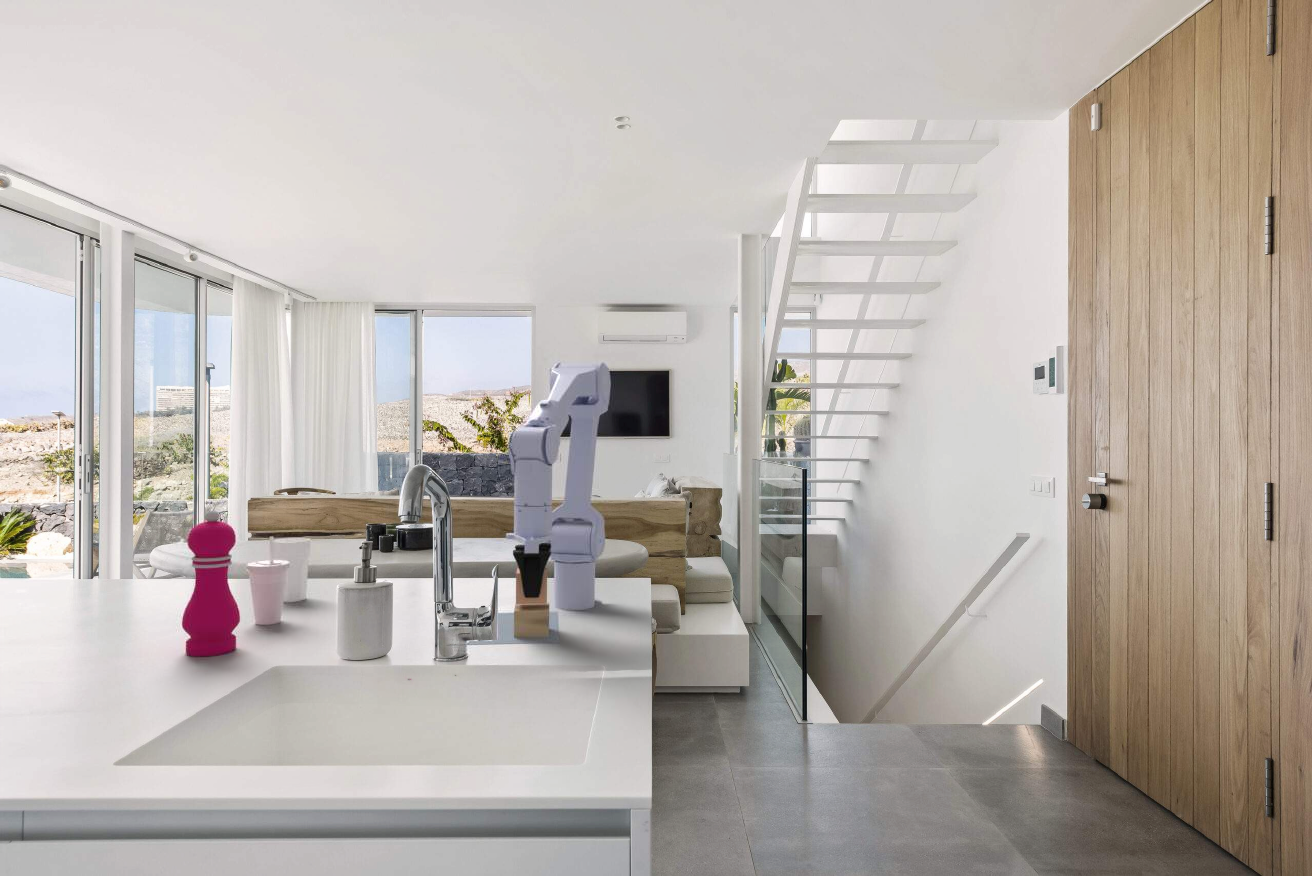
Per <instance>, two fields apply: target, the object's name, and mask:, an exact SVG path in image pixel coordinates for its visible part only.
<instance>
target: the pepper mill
mask: <svg viewBox="0 0 1312 876" xmlns="http://www.w3.org/2000/svg"><path fill="white" fill-rule="evenodd" d="M219 518H220V514H219V512H218V511H216V510H213V509H212V510H210V509H209V510H208V511H207V512H206V513H205V514H204V519H205V521H203V522H200V523H198V524H196V525H194V527H193V528H192V529H190V531H189V534H188V537H187V547H188V549H189V550H190V551H191V552H192V553H193V556H192V557H191V561H192V563H191V564H190V565H191V568H194V571H195V572H194V574H195V581H194V589H193V591H192V593H191V597H190V599H189V601H188V602H187V604H186V606H185V608H184V612H183V615H182V619H181V626H182V629H183V631H184V632H186V634H188V635H189V638H188V639H186V641H185V654H186V655H188V656H191V657H202V658H203V657H212V656H213V657H214V656H220V655H224V654H228V653H230V652H233V651H234V650H235V649H236V648H237V636H236V634H234V633H233V631H234V630H235V629H236V628H237V627H238V625H239V624H240V621H241V614H240V609H239V605H238V603H237V600H235V597H234V595H233V593H232V591H231V589H230V585H229V580H228V579H229V578H228V576H229V574H228V571H229V566H231V565H232V563H233V562H232V560H231V559H232V557H233V556H232V554H231V553H230V552H231V551H232V549H233V548H234V546H235V545H236V542H237V541H236V540H237V538H236V537H237V535H236V533H235V532H236V531H235V530H234V528H233V527H232V526H231V525H230V524H229V523H226V522H223V521H219Z"/></svg>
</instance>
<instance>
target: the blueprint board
mask: <svg viewBox="0 0 1312 876" xmlns="http://www.w3.org/2000/svg"><path fill="white" fill-rule="evenodd" d="M497 613H498V638H497V639H496V640H492V641H469V642H468V643H467V645H466V646H475V645H476V646H480V645H481V646H483V645H518V644H519V645H522V644H523V645H527V644H528V645H529V644H531V645H532V644H559V642H560V641H559V620H558V619H559V618H558V616H559V615H558V611H549V637H519V638H514V612H497Z"/></svg>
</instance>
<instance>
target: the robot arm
mask: <svg viewBox="0 0 1312 876" xmlns="http://www.w3.org/2000/svg"><path fill="white" fill-rule="evenodd" d="M549 376H550V377H549V384H550V385H549V386H550V390H551V391H550V393H549V395H548V398H547V399H541V400H540V401H539V402H538V403H537V404H536V406H535V408H534V409H533V411H532V413H531V414H530V416H529V417H528V419H527V421H526V422H525V423H524V425H523V426H518V427H516V428H515V429H513V430H512V431H511V433H510V435H509V438H508V444H507V452H508V457H509V461H510V472H511V474H512V475H513V476H514V479H513V480H514V487H513V489H514V494H513V495H514V496H513V497H514V498H513V500H514V501H513V523H514V524H513V532H509V533H508V532H507V533H505V538H506V540H514V541H516V542H518V543H521V544H516V545H515V546H514V549H513V550H512V556H513V558H514V560H515V563H516V564H517V568H519V570H520V574H521V580H522V587H523V592H524V596H525V598H538V597H539V595H540V591H541V585H542V579H543V574H544V570H545V568H546V566H547V564H548V561H549V559H550V560H551V561H554V565H553V570H554V571H553V572H554V573H553V575H554V576H553V577H554V578H553V607H554V608H556V609H558V610H563V611H582V610H589V609H592V608H594V607H595V604H596V603H595V602H596V600H595V599H596V598H595V597H596V596H595V595H596V581H595V580H596V560H598V559H599V558H600V557H601V556H602V555H603V553H604V551H605V546H606V545H605V544H606V533H605V523H606V521H605V518H604V516H603V515H602V513H600V512H599V510H597V509H596V508H594V507H593V505H591V504H592V491H593V482H594V481H593V480H594V472H595V471H594V469H595V461H596V459H595V458H596V447H597V440H598V439H597V436H598V427H599V421H600V416H601V415H603V414H604V413H606V412H608V410H609V405H610V397H611V385H612V382H611V373H610V369H609V367H608V365H607V364H606V363H605V362H599V363H561V362H556V363H555V364H554V365H553V367H552V368H551V370H550V374H549ZM569 416H570V418H571V426H570V428H571V429H570V435H569V436H570V437H569V444H568V445H569V447H568V456H567V457H568V458H567V464H566V465H567V466H566V467H567V468H566V475H565V477H566V478H565V487H564V496H563V497H564V498H563V503H562V504H561V505H559V506H557V507H556V508H555V509H554V510H553V465H554V464H555V462H556V461H557V460H558V456H559V451H560V450H559V449H560V446H561V436H562V434H563V432H564V430H565V429H566V427H567V424H568V423H569V420H570V418H569Z"/></svg>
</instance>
